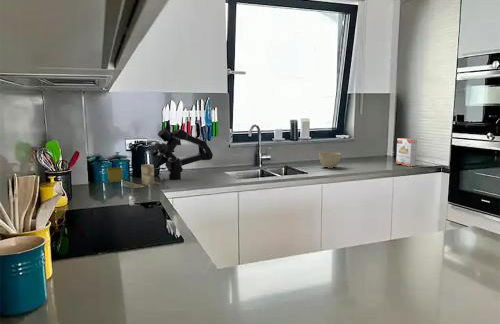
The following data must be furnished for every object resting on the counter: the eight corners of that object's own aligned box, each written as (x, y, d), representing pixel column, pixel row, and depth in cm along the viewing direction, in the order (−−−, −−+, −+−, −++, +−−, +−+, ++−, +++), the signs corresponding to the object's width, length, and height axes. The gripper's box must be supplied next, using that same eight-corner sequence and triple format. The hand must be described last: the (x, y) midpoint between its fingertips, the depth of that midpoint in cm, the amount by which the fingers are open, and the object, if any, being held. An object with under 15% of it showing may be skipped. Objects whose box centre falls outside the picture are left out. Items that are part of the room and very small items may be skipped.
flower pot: (107, 182, 236) (106, 168, 234) (122, 181, 239) (121, 167, 238) (107, 185, 228) (106, 170, 226) (123, 184, 231) (122, 169, 229)
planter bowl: (341, 169, 282) (341, 154, 280) (318, 169, 285) (318, 154, 283) (340, 166, 297) (340, 152, 296) (319, 165, 300) (319, 151, 299)
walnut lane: (152, 183, 232) (152, 177, 232) (162, 185, 226) (162, 178, 225) (123, 188, 218) (123, 181, 217) (133, 191, 211) (133, 183, 211)
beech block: (149, 182, 227) (148, 164, 226) (154, 183, 224) (153, 164, 222) (141, 183, 224) (141, 164, 222) (146, 184, 220) (146, 165, 219)
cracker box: (395, 164, 303) (396, 138, 300) (401, 164, 306) (402, 137, 303) (409, 167, 291) (411, 139, 288) (415, 166, 293) (417, 139, 290)
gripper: (152, 137, 235) (137, 157, 228) (170, 138, 222) (155, 160, 216) (164, 149, 241) (150, 169, 235) (182, 150, 229) (168, 171, 223)
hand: (155, 167), depth 227 cm, fingers closed
